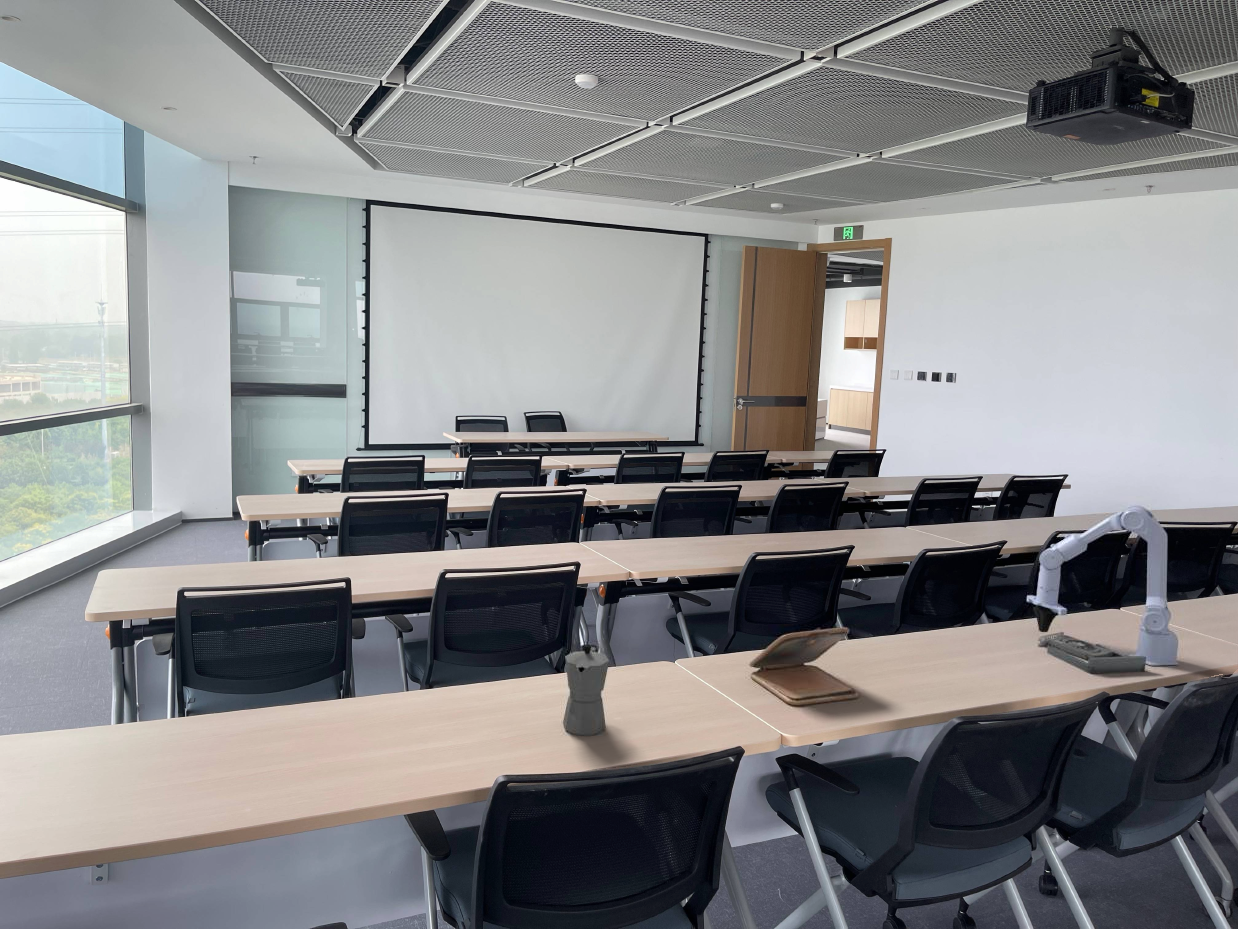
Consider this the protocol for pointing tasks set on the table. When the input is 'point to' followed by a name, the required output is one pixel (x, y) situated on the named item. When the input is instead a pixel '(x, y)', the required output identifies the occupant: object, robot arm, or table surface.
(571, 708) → the coffeepot
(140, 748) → the table surface
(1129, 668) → the mounting bracket
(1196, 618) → the table surface
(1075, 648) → the graphics card
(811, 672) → the case
